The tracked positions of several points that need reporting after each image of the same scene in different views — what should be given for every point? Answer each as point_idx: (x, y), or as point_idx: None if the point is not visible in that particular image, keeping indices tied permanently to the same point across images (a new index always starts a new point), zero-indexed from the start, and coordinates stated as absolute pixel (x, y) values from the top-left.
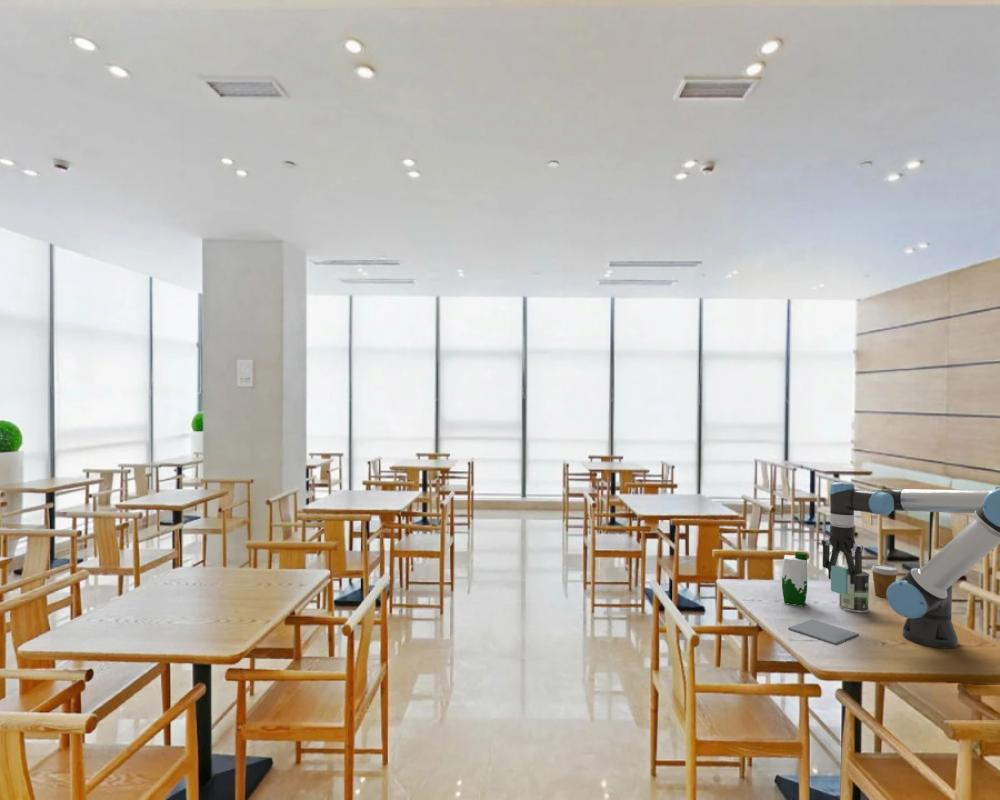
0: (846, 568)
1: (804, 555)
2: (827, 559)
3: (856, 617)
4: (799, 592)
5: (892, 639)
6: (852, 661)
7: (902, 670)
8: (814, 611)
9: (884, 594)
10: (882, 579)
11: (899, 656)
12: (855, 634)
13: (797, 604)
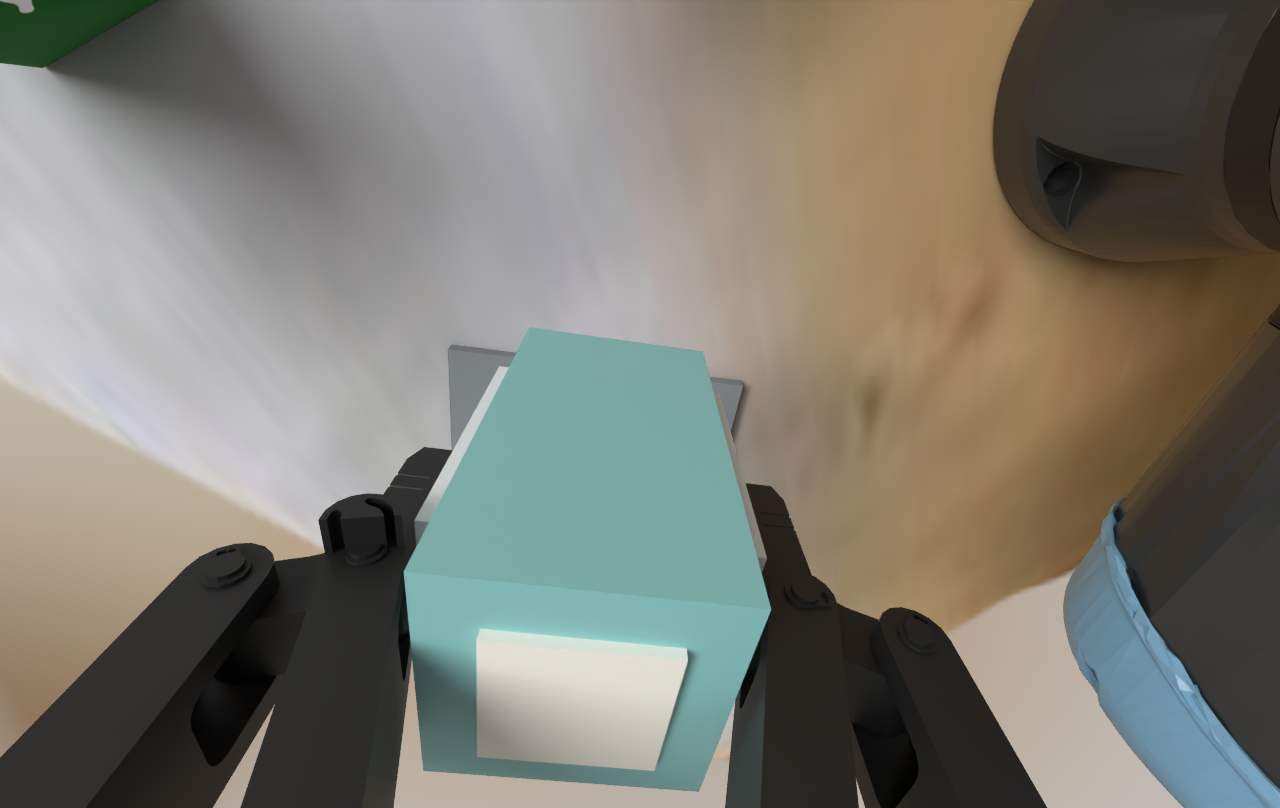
0: (698, 765)
1: None
2: (176, 793)
3: None
4: (21, 13)
5: (918, 293)
6: None
7: (943, 628)
8: (321, 79)
9: None
10: None
11: (942, 514)
12: (733, 416)
13: (121, 18)
